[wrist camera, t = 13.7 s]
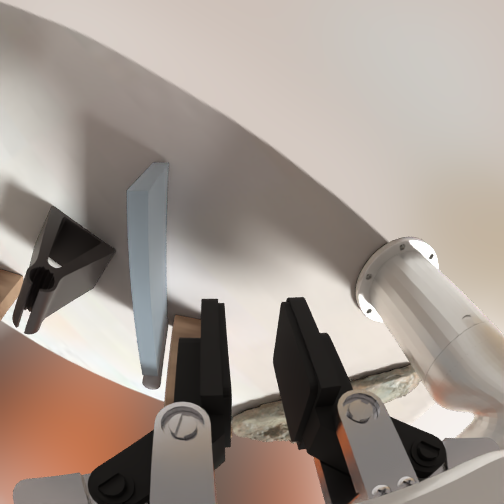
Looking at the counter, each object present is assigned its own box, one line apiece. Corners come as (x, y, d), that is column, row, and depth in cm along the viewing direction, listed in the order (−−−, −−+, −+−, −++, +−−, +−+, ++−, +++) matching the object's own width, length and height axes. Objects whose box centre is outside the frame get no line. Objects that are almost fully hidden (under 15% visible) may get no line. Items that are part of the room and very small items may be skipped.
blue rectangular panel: (169, 326, 37) (161, 390, 28) (154, 325, 37) (143, 388, 28) (170, 162, 28) (150, 191, 20) (152, 162, 28) (124, 190, 19)
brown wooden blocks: (223, 323, 38) (232, 435, 24) (219, 335, 39) (226, 445, 25) (-20, 261, 30) (-85, 334, 16) (-19, 274, 31) (-79, 347, 17)
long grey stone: (409, 380, 53) (416, 345, 49) (421, 398, 48) (431, 363, 44) (237, 435, 51) (223, 405, 46) (241, 458, 46) (227, 431, 42)
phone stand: (35, 244, 31) (-17, 302, 20) (53, 205, 29) (-6, 255, 18) (94, 286, 34) (60, 356, 23) (116, 250, 32) (80, 318, 22)
